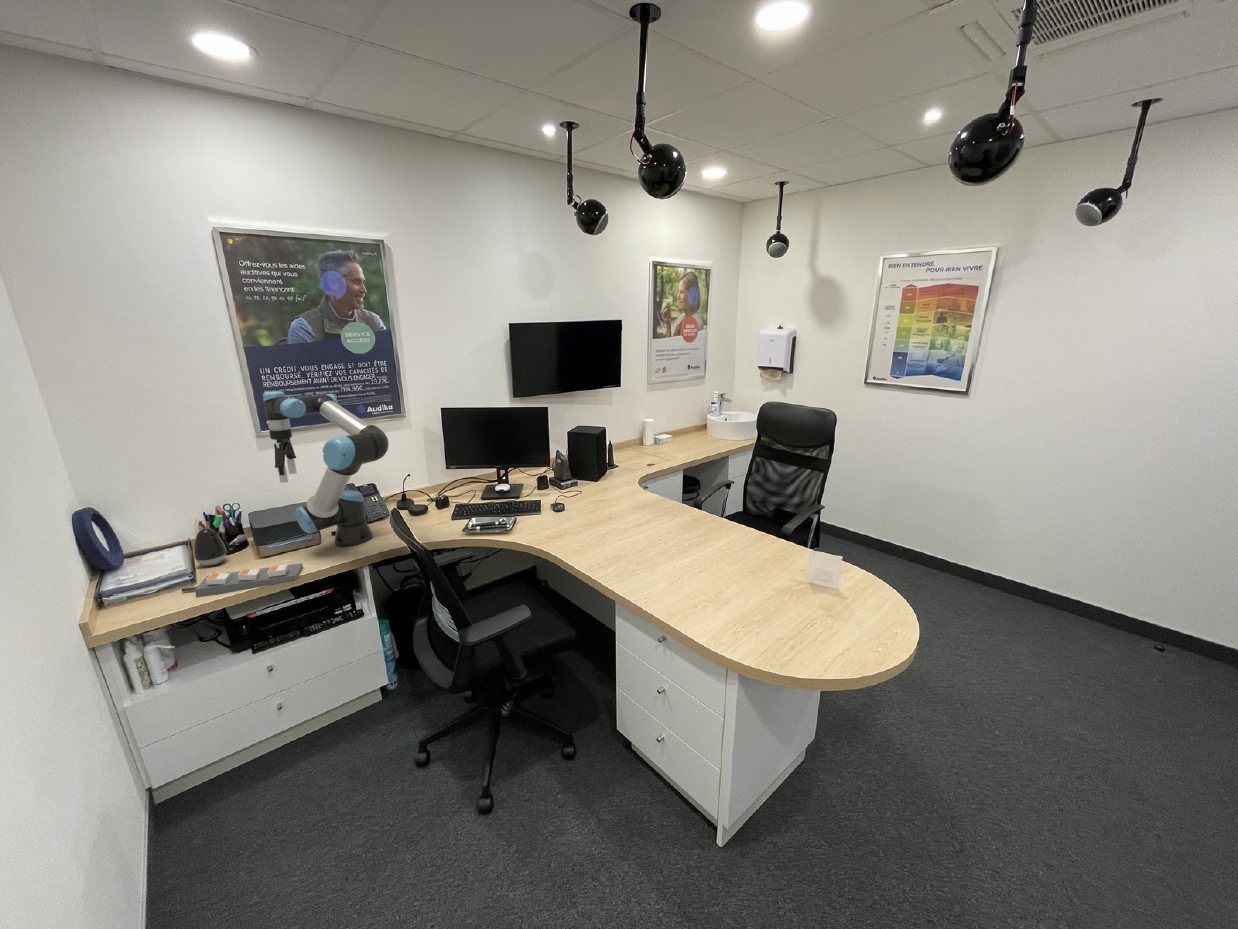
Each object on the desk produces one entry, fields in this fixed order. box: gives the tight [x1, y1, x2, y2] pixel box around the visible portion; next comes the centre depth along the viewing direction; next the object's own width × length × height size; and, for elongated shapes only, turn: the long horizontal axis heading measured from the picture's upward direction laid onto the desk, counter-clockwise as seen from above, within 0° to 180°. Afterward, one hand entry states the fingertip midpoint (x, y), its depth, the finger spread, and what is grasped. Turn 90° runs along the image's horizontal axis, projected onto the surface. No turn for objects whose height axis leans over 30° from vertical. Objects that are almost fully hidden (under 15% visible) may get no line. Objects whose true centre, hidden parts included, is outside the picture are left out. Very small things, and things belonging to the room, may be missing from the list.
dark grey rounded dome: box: [193, 527, 228, 567], centre depth 199 cm, size 10×10×15 cm
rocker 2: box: [238, 568, 261, 580], centre depth 182 cm, size 6×5×2 cm
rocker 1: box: [206, 572, 231, 584], centre depth 179 cm, size 6×5×2 cm
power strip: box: [181, 562, 304, 598], centre depth 184 cm, size 37×11×3 cm, turn 110°
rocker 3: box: [267, 564, 289, 577], centre depth 185 cm, size 6×5×2 cm
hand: (288, 477), depth 209 cm, fingers open, 13 cm apart
